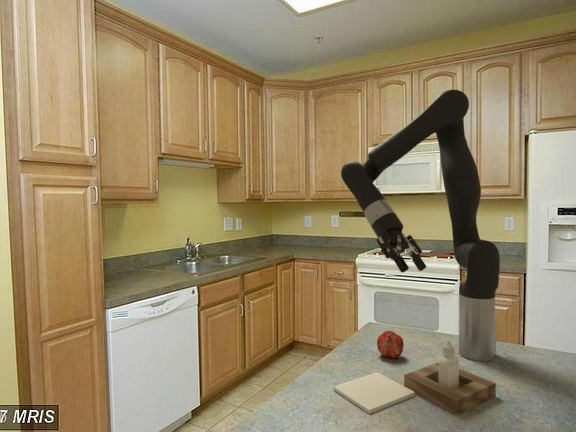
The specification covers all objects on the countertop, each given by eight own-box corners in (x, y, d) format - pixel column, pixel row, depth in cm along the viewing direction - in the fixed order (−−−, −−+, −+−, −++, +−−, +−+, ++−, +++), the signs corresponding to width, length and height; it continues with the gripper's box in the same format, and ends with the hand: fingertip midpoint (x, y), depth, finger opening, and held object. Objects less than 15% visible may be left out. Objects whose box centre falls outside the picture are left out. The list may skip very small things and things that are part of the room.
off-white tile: (376, 375, 97) (376, 372, 97) (414, 395, 86) (414, 392, 86) (333, 389, 89) (333, 386, 89) (369, 413, 79) (369, 410, 79)
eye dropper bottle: (465, 395, 86) (465, 343, 86) (442, 397, 85) (443, 345, 85) (454, 386, 91) (454, 336, 90) (432, 388, 90) (432, 338, 89)
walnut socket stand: (442, 372, 98) (442, 361, 97) (495, 396, 86) (495, 383, 85) (404, 387, 90) (404, 374, 90) (457, 414, 78) (457, 400, 78)
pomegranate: (377, 358, 113) (370, 347, 105) (384, 334, 116) (377, 322, 109) (402, 366, 109) (396, 355, 102) (408, 342, 112) (403, 329, 105)
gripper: (376, 210, 98) (410, 263, 90) (406, 212, 108) (439, 261, 100) (358, 227, 103) (388, 279, 95) (388, 228, 112) (418, 276, 104)
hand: (414, 270), depth 97 cm, fingers open, 8 cm apart
